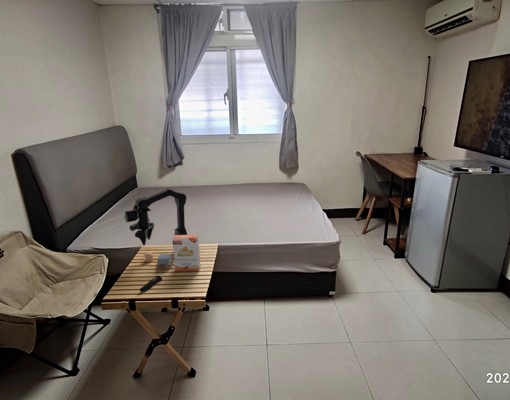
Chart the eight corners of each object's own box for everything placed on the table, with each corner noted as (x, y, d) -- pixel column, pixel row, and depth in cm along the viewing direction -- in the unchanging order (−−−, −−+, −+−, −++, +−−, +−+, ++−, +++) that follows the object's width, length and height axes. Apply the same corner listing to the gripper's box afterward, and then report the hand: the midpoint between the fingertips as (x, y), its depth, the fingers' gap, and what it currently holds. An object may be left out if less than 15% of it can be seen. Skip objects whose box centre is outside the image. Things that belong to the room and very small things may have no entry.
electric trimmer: (138, 293, 162) (137, 287, 161) (157, 278, 176) (156, 273, 175) (143, 294, 161) (142, 289, 160) (163, 279, 175) (162, 274, 174)
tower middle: (171, 259, 192) (170, 253, 191) (168, 263, 186) (168, 258, 185) (160, 259, 192) (159, 254, 191) (157, 264, 186) (157, 259, 185)
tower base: (173, 263, 194) (172, 258, 193) (170, 269, 186) (169, 264, 185) (160, 264, 194) (159, 259, 193) (156, 270, 186) (156, 265, 185)
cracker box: (175, 271, 183) (171, 238, 177) (177, 267, 188) (174, 234, 183) (199, 271, 182) (196, 237, 177) (200, 266, 188) (198, 234, 183)
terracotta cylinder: (154, 258, 201) (153, 251, 199) (152, 262, 196) (151, 254, 195) (146, 259, 201) (145, 251, 199) (144, 262, 196) (143, 255, 194)
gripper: (135, 214, 201) (138, 237, 205) (124, 224, 183) (128, 248, 187) (153, 214, 201) (155, 236, 205) (143, 223, 183) (146, 248, 187)
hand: (146, 242), depth 196 cm, fingers open, 9 cm apart
